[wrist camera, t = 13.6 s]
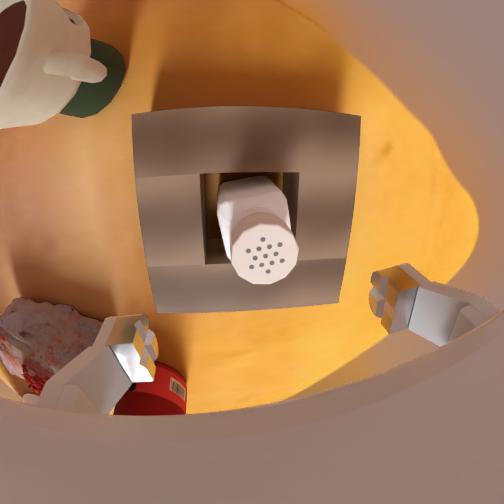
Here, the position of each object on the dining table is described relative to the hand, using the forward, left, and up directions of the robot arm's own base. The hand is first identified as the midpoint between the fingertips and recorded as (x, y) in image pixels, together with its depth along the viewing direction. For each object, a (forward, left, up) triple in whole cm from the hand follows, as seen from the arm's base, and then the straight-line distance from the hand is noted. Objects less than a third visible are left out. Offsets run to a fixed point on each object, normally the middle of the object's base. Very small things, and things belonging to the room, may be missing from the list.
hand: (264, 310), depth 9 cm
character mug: (+11, +12, -14) cm, 21 cm away
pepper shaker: (0, -1, -14) cm, 14 cm away
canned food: (-21, +11, -14) cm, 27 cm away
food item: (-12, +19, -14) cm, 27 cm away
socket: (0, 0, -13) cm, 13 cm away
